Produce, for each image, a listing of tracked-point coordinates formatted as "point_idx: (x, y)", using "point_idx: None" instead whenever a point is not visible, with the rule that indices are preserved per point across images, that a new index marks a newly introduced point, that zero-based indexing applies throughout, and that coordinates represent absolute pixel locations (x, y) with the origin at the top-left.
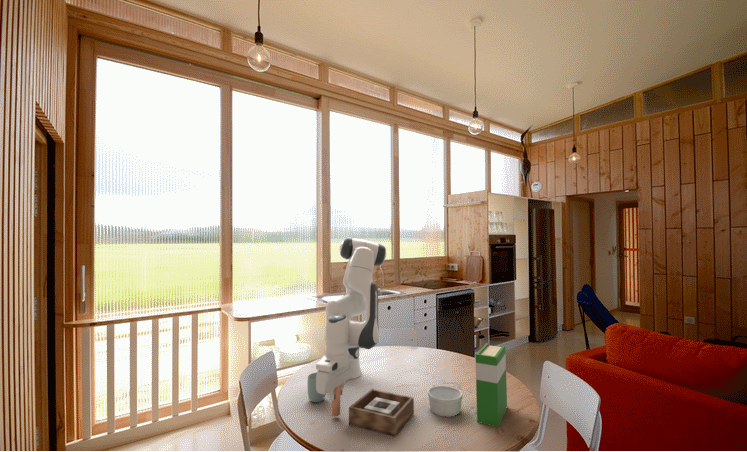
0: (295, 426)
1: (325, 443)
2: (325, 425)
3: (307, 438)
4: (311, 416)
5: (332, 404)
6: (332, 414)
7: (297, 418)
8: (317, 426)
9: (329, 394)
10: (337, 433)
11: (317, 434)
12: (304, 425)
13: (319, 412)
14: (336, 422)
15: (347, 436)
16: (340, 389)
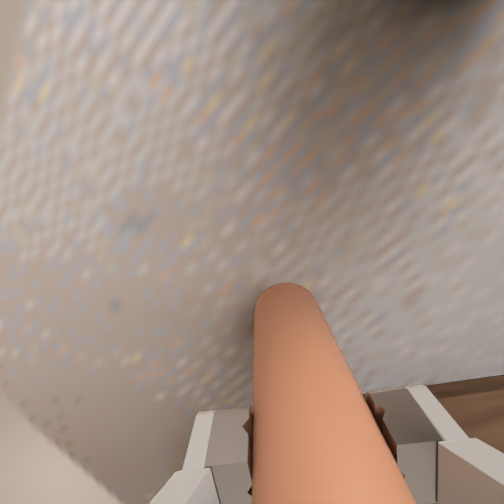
0: (22, 160)
1: (57, 427)
2: (174, 312)
3: (9, 330)
4: (192, 141)
5: (254, 358)
6: (254, 313)
7: (97, 69)
8: (131, 281)
9: (165, 496)
10: (161, 415)
11: (76, 344)
12: (77, 202)
13: (276, 143)
14: (243, 339)
15: (175, 465)
16: (449, 493)
